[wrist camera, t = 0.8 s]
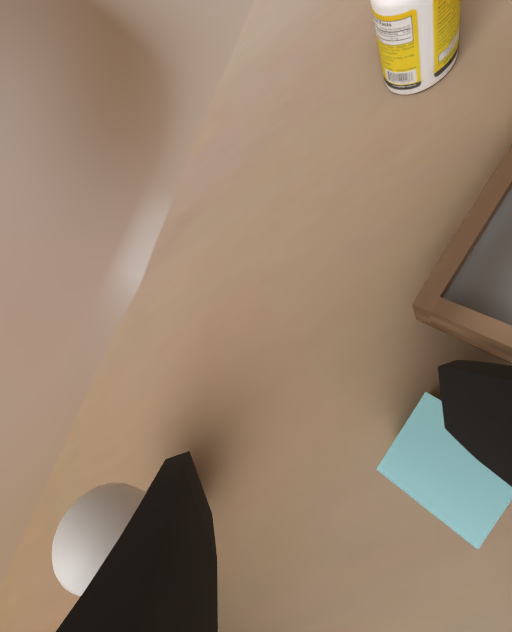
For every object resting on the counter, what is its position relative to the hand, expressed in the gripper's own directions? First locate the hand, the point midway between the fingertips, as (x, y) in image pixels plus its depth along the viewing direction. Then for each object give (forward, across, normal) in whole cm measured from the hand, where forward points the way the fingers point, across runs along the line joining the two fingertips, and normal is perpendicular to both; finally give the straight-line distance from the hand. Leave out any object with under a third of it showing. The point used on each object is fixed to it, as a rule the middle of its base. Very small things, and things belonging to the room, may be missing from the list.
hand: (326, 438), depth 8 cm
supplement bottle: (+19, -20, -15) cm, 32 cm away
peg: (+7, -9, +9) cm, 15 cm away
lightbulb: (+17, +9, +15) cm, 24 cm away
